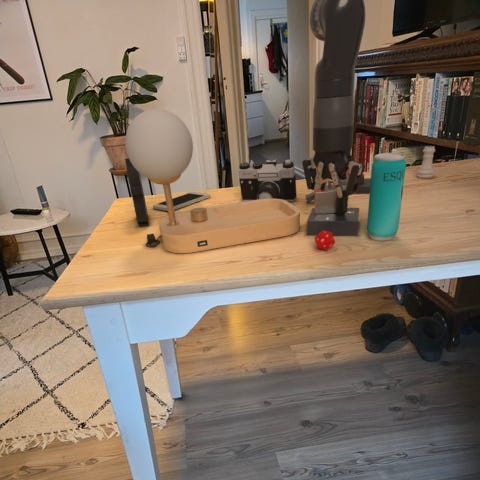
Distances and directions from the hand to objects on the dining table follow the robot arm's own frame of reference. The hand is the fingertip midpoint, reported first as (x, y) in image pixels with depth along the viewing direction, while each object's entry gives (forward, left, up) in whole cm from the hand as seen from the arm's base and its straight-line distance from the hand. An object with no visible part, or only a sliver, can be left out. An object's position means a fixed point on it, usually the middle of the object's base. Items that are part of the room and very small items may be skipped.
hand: (330, 212), depth 86 cm
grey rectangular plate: (0, 0, 0) cm, 0 cm away
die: (0, +12, -3) cm, 13 cm away
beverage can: (-10, +6, -3) cm, 12 cm away
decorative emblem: (+46, -3, -3) cm, 46 cm away
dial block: (-1, +1, -3) cm, 3 cm away
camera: (+18, -18, -3) cm, 26 cm away
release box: (-5, -31, -3) cm, 32 cm away
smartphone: (+42, -19, -3) cm, 46 cm away
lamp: (+23, +5, -3) cm, 24 cm away
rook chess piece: (-23, -43, -3) cm, 49 cm away
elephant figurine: (+3, -18, -3) cm, 19 cm away
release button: (-3, -31, 0) cm, 31 cm away
